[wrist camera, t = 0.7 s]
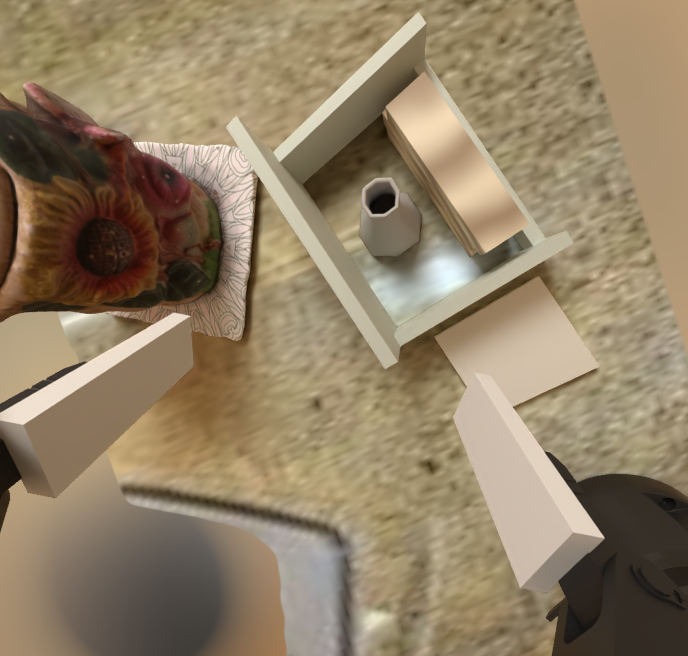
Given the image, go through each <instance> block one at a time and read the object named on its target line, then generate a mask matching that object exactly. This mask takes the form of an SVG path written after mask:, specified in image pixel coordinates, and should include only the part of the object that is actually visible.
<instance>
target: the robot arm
mask: <svg viewBox="0 0 688 656" xmlns="http://www.w3.org/2000/svg"><path fill="white" fill-rule="evenodd" d="M193 367H194V361H193V347H192V332H191V317H190V316H188V315H183V314H178V313H172V314H171V315H169V316H167V317H165V318H164V319H162V320H160V321H158V322H157V323H155V324H153V325H151V326H150V327H148V328H146V329H145V330H143V331H141V332H139V333H138V334H136V335H134V336H132V337H131V338H129V339H127V340H126V341H124V342H122V343H120V344H119V345H117V346H115V347H113V348H112V349H110V350H108V351H106V352H105V353H103V354H101V355H100V356H98V357H96V358H94V359H93V360H91V361H89V362H82V363H79V364H76V365H73V366H70V367H67V368H64V369H62V370H61V371H59V372H57V373H55V374H53V375H52V376H50V377H48V378H47V379H46V380H42V381H41V382H39V383H37V384H36V385H34V386H32V388H31V389H27V390H24V391H23V392H21V393H19V394H17V395H15V396H14V397H12V398H10V399H8V400H7V401H5V402H3V403H1V404H0V531H1V528H2V525H3V521H4V518H5V515H6V511H7V508H8V504H9V501H10V492H9V490H8V489H9V488H10V487H11V486H13V485H14V484H15V483H16V482H18V481H19V480H20V479H21V480H22V481H23V484H24V486H25V487H26V489H27V491H28V493H32V494H37V495H42V496H47V497H53V498H56V497H57V496H58V495H59V494H60V493H62V491H64V490H65V489H66V488H67V487H68V486H69V485H70V484H71V483H72V482H73V481H74V480H75V479H76V478H77V477H78V476H79V475H80V474H81V473H82V472H83V471H85V470H86V469H87V468H88V467H89V466H90V465H91V464H92V463H93V462H94V461H95V460H96V459H97V458H98V457H99V456H100V455H101V454H102V453H103V452H104V451H106V450H107V449H108V448H109V447H110V446H111V445H112V444H113V443H114V442H115V441H116V440H117V439H118V438H119V437H120V436H121V435H122V434H123V433H124V432H125V431H127V430H128V429H129V428H130V427H131V426H132V425H133V424H134V423H135V422H136V421H137V420H138V419H139V418H140V417H141V416H142V415H143V414H144V413H145V412H146V411H147V410H149V409H150V408H151V407H152V406H153V405H154V404H155V403H156V402H157V401H158V400H159V399H160V398H161V397H162V396H163V395H164V394H165V393H166V392H167V391H168V390H169V389H171V388H172V387H173V386H174V385H175V384H176V383H177V382H178V381H179V380H180V379H181V378H182V377H183V376H184V375H185V374H186V373H187V372H188V371H189V370H190V369H192V368H193ZM453 419H454V422H455V424H456V427H457V429H458V432H459V434H460V437H461V439H462V442H463V444H464V447H465V449H466V452H467V455H468V457H469V460H470V462H471V465H472V467H473V470H474V472H475V475H476V477H477V480H478V482H479V485H480V488H481V490H482V493H483V495H484V498H485V500H486V503H487V505H488V508H489V510H490V513H491V515H492V518H493V521H494V523H495V526H496V528H497V531H498V533H499V536H500V538H501V541H502V543H503V546H504V548H505V551H506V554H507V556H508V559H509V561H510V564H511V566H512V569H513V571H514V574H515V576H516V579H517V581H518V584H519V587H520V588H522V589H527V590H533V591H538V592H543V593H548V592H549V591H550V590H551V589H552V588H553V587H554V586H555V585H556V584H557V583H558V582H559V584H560V586H561V588H562V590H563V592H564V594H565V596H566V597H565V598H564V599H563V600H562V601H561V602H560V603H559V604H557V605H556V606H555V607H554V608H553V609H552V610H551V611H549V613H548V615H547V617H546V618H547V619H548V620H549V621H550V622H551V621H552V620H553V619H554V618H556V617H557V616H558V621H557V627H556V634H555V640H554V646H553V652H552V656H688V497H686V496H685V495H684V494H682V493H681V492H679V491H678V490H676V489H674V488H673V487H671V486H669V485H667V484H664V483H662V482H660V481H657V480H654V479H650V478H647V477H642V476H637V475H629V474H608V475H601V476H595V477H592V478H588V479H585V480H583V481H580V482H578V483H576V480H575V479H574V478H573V476H572V475H571V474H570V472H569V471H568V470H567V468H566V467H565V466H564V465H563V464H562V463H561V462H560V461H559V460H558V459H556V458H555V457H554V456H553V455H552V454H551V453H550V452H545V451H543V450H542V448H541V447H540V445H539V444H538V442H537V441H536V440H535V438H534V437H533V435H532V434H531V433H530V431H529V430H528V428H527V427H526V425H525V424H524V423H523V421H522V420H521V418H520V417H519V415H518V414H517V413H516V411H515V410H514V408H513V407H512V405H511V404H510V403H509V401H508V400H507V398H506V397H505V396H504V394H503V393H502V391H501V390H500V388H499V387H498V386H497V384H496V383H495V381H494V380H493V378H492V377H491V376H490V375H485V374H479V373H474V374H473V376H472V378H471V380H470V382H469V384H468V387H467V389H466V391H465V393H464V395H463V397H462V399H461V401H460V404H459V406H458V408H457V410H456V412H455V414H454V416H453Z"/></svg>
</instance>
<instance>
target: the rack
mask: <svg viewBox="0 0 688 656" xmlns="http://www.w3.org/2000/svg"><path fill="white" fill-rule="evenodd" d="M425 40H426V22H425V21H424V19H423V18H422V16H421V15H420V13H419V12H418V13H417V14H416V15H415V16H414V17H413V18H412V19H411V20H410V21H409V22H407V23H406V24H405V25H404V26H403V27H402V28H401V29H400V30H399V31H398V32H397V33H396V34H395V35H394V36H393V37H392V38H391V39H390V40H389V41H388V42H387V43H386V44H385V45H384V46H383V47H382V48H381V49H380V50H379V51H377V52H376V53H375V54H374V55H373V56H372V57H371V58H370V59H369V60H368V61H367V62H366V63H365V64H364V65H363V66H362V67H361V68H360V69H359V70H358V71H357V72H356V73H355V74H354V75H353V76H352V77H351V78H350V79H348V80H347V81H346V82H345V83H344V84H343V85H342V86H341V87H340V88H339V89H338V90H337V91H336V92H335V93H334V94H333V95H332V96H331V97H330V98H329V99H328V100H327V101H326V102H325V103H324V104H323V105H322V106H321V107H319V108H318V109H317V110H316V111H315V112H314V113H313V114H312V115H311V116H310V117H309V118H308V119H307V120H306V121H305V122H304V123H303V124H302V125H301V126H300V127H299V128H298V129H297V130H296V131H295V132H294V133H293V134H292V135H290V136H289V137H288V138H287V139H286V140H285V141H284V142H283V143H282V144H281V145H280V146H279V147H278V148H277V149H276V150H275V151H274V152H272V151H271V150H270V149H269V148H268V147H267V146H266V145H265V144H264V143H263V142H262V141H261V140H260V139H259V138H258V137H257V136H256V135H255V134H254V133H253V132H252V131H251V130H250V129H249V128H248V127H247V126H246V125H245V124H244V123H243V122H242V121H241V120H240V119H239V118H238V117H237V116H236V117H235V118H234V119H233V120H232V121H231V122H230V123H229V124H228V125H227V126H226V128H227V129H228V131H229V132H230V134H231V135H232V137H233V138H234V140H235V141H236V143H237V145H238V146H239V148H240V149H241V151H242V152H243V154H244V155H245V157H246V158H247V160H248V161H249V163H250V164H251V166H252V167H253V169H254V170H255V172H256V173H257V175H258V177H259V178H260V180H261V181H262V183H263V184H264V186H265V187H266V189H267V190H268V192H269V193H270V195H271V196H272V198H273V199H274V201H275V202H276V204H277V206H278V207H279V209H280V210H281V212H282V213H283V215H284V216H285V218H286V219H287V221H288V222H289V224H290V225H291V227H292V228H293V230H294V231H295V233H296V234H297V236H298V238H299V239H300V241H301V242H302V244H303V245H304V247H305V248H306V250H307V251H308V253H309V254H310V256H311V257H312V259H313V260H314V262H315V263H316V265H317V266H318V268H319V270H320V271H321V273H322V274H323V276H324V277H325V279H326V280H327V282H328V283H329V285H330V286H331V288H332V289H333V291H334V292H335V294H336V295H337V297H338V298H339V300H340V302H341V303H342V305H343V306H344V308H345V309H346V311H347V312H348V314H349V315H350V317H351V318H352V320H353V321H354V323H355V324H356V326H357V327H358V329H359V330H360V332H361V334H362V335H363V337H364V338H365V340H366V341H367V343H368V344H369V346H370V347H371V349H372V350H373V352H374V353H375V355H376V356H377V358H378V359H379V361H380V363H381V364H382V366H383V367H384V369H386V368H388V367H390V366H391V365H393V364H395V363H397V362H398V359H399V353H400V348H401V346H402V345H404V344H405V343H407V342H409V341H410V340H412V339H414V338H415V337H417V336H419V335H420V334H422V333H424V332H425V331H427V330H429V329H430V328H432V327H434V326H435V325H437V324H439V323H440V322H442V321H444V320H445V319H447V318H449V317H451V316H452V315H454V314H456V313H457V312H459V311H461V310H462V309H464V308H466V307H467V306H469V305H471V304H472V303H474V302H476V301H477V300H479V299H481V298H482V297H484V296H486V295H487V294H489V293H491V292H492V291H494V290H496V289H497V288H499V287H501V286H503V285H504V284H506V283H508V282H509V281H511V280H513V279H514V278H516V277H518V276H519V275H521V274H523V273H524V272H526V271H528V270H529V269H531V268H533V267H534V266H536V265H538V264H539V263H541V262H543V261H544V260H546V259H548V258H549V257H551V256H553V255H555V254H556V253H558V252H560V251H561V250H563V249H565V248H566V247H568V246H570V245H571V244H573V243H574V242H573V241H572V239H571V238H570V236H569V235H568V233H567V232H566V231H564V232H561V233H559V234H556V235H553V236H551V237H548V238H545V236H544V235H543V233H542V232H541V230H540V229H539V228H538V226H537V225H536V223H535V222H534V220H533V219H532V217H531V216H530V214H529V213H528V211H527V210H526V208H525V207H524V205H523V204H522V202H521V201H520V199H519V198H518V196H517V195H516V193H515V192H514V190H513V189H512V187H511V186H510V184H509V183H508V181H507V180H506V178H505V177H504V175H503V174H502V172H501V171H500V169H499V168H498V166H497V165H496V164H495V162H494V161H493V159H492V158H491V156H490V155H489V153H488V152H487V150H486V149H485V147H484V146H483V144H482V143H481V141H480V140H479V138H478V137H477V135H476V134H475V132H474V131H473V129H472V128H471V126H470V125H469V123H468V122H467V120H466V119H465V117H464V116H463V114H462V113H461V111H460V110H459V108H458V107H457V105H456V104H455V102H454V101H453V100H452V98H451V97H450V95H449V94H448V92H447V91H446V89H445V88H444V86H443V85H442V83H441V82H440V80H439V79H438V77H437V76H436V74H435V73H434V71H433V70H432V68H431V67H430V65H429V64H428V62H427V61H426V59H425V58H424V57H425ZM423 72H425V73H426V75H427V76H428V77H429V79H430V80H431V82H432V83H433V85H434V86H435V88H436V89H437V90H438V92H439V93H440V95H441V96H442V98H443V99H444V101H445V102H446V103H447V105H448V106H449V108H450V109H451V111H452V112H453V114H454V115H455V116H456V118H457V119H458V121H459V122H460V124H461V125H462V127H463V128H464V129H465V131H466V132H467V134H468V135H469V137H470V138H471V140H472V141H473V143H474V144H475V145H476V147H477V148H478V150H479V151H480V153H481V154H482V156H483V157H484V158H485V160H486V161H487V163H488V164H489V166H490V167H491V169H492V170H493V171H494V173H495V174H496V176H497V177H498V179H499V180H500V182H501V183H502V184H503V186H504V187H505V189H506V190H507V192H508V193H509V195H510V196H511V197H512V199H513V200H514V202H515V203H516V205H517V206H518V208H519V209H520V210H521V212H522V213H523V215H524V216H525V218H526V219H527V221H528V222H529V223H530V225H528V226H527V227H525V228H524V229H522V230H521V231H519V232H518V233H516V234H515V235H513V236H514V237H515V239H516V240H517V242H518V243H519V245H520V246H521V248H522V249H523V250H522V251H520V252H518V253H517V254H515V255H513V256H512V257H510V258H509V259H507V260H505V261H504V262H502V263H501V264H499V265H497V266H496V267H494V268H493V269H491V270H489V271H488V272H486V273H484V274H483V275H481V276H480V277H478V278H476V279H475V280H473V281H472V282H470V283H468V284H467V285H465V286H464V287H462V288H460V289H459V290H457V291H455V292H454V293H452V294H451V295H449V296H447V297H446V298H444V299H443V300H441V301H439V302H438V303H436V304H434V305H433V306H431V307H430V308H428V309H426V310H425V311H423V312H422V313H420V314H418V315H417V316H415V317H414V318H412V319H410V320H409V321H407V322H405V323H404V324H402V325H401V326H399V327H396V325H395V324H394V322H393V321H392V319H391V318H390V316H389V315H388V313H387V312H386V310H385V309H384V307H383V306H382V304H381V303H380V301H379V299H378V298H377V296H376V295H375V293H374V292H373V290H372V289H371V287H370V286H369V284H368V283H367V281H366V280H365V278H364V277H363V275H362V274H361V272H360V271H359V269H358V268H357V266H356V265H355V263H354V262H353V260H352V258H351V257H350V255H349V254H348V252H347V251H346V249H345V248H344V246H343V245H342V243H341V242H340V240H339V239H338V237H337V236H336V234H335V233H334V231H333V230H332V228H331V227H330V225H329V224H328V222H327V221H326V219H325V217H324V216H323V214H322V213H321V211H320V210H319V208H318V207H317V205H316V204H315V202H314V201H313V199H312V198H311V196H310V195H309V193H308V192H307V190H306V189H305V187H304V186H303V183H305V182H306V181H307V180H308V179H309V178H310V177H311V176H312V175H314V174H315V173H316V172H317V171H318V170H319V169H320V168H321V167H323V166H324V165H325V164H326V163H327V162H328V161H329V160H330V159H332V158H333V157H334V156H335V155H336V154H337V153H338V152H339V151H341V150H342V149H343V148H344V147H345V146H346V145H347V144H349V143H350V142H351V141H352V140H353V139H354V138H355V137H356V136H358V135H359V134H360V133H361V132H362V131H363V130H364V129H365V128H367V127H368V126H369V125H370V124H371V123H372V122H373V121H374V120H376V119H377V118H378V117H379V116H380V115H381V114H382V112H383V111H384V110H385V109H386V106H387V105H388V104H389V103H390V102H391V101H392V100H393V99H394V98H396V97H397V96H398V95H399V94H400V93H401V92H402V91H403V90H404V89H405V88H407V87H408V86H409V85H410V84H411V83H412V82H413V81H414V80H415V79H416V78H418V77H419V76H420V75H421V74H422V73H423Z"/></svg>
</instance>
